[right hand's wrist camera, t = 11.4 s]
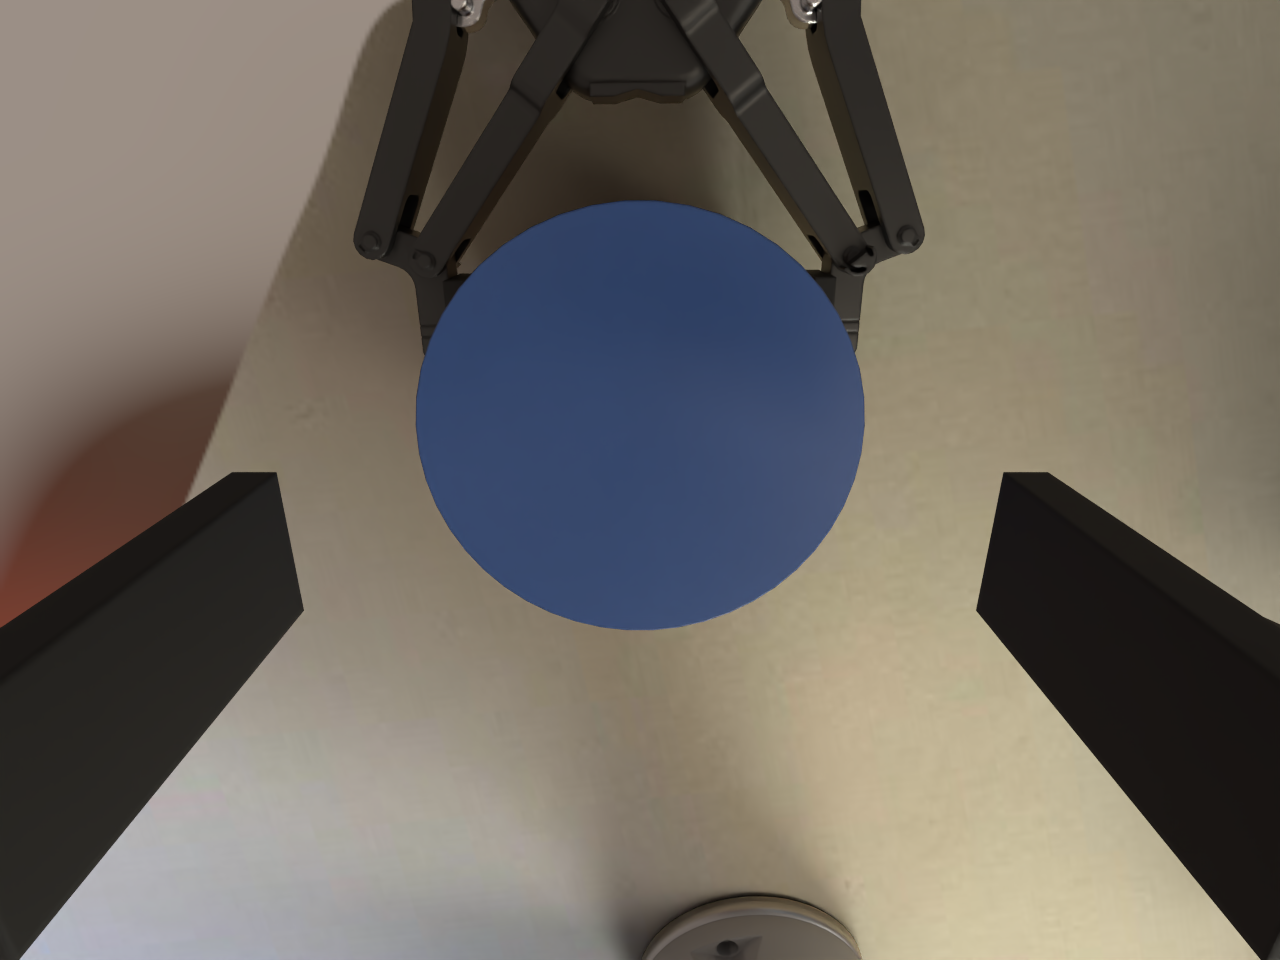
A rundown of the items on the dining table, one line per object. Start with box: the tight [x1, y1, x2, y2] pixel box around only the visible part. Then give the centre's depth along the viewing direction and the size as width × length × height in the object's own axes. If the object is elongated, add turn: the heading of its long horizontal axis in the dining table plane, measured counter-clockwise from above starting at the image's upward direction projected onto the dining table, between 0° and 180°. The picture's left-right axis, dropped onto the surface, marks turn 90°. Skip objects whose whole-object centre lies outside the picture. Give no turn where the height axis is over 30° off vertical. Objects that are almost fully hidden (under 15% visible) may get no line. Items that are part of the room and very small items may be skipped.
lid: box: [416, 200, 865, 630], centre depth 19 cm, size 11×11×2 cm
